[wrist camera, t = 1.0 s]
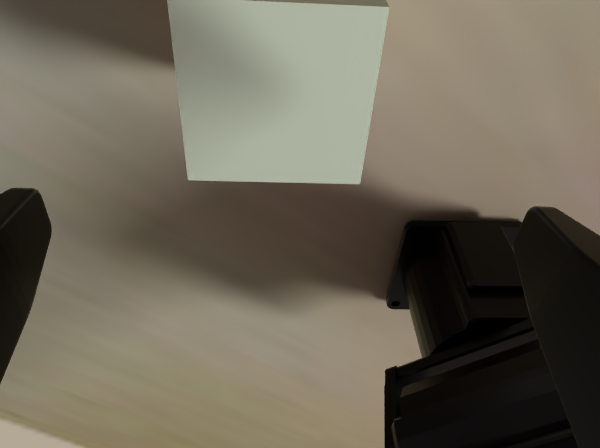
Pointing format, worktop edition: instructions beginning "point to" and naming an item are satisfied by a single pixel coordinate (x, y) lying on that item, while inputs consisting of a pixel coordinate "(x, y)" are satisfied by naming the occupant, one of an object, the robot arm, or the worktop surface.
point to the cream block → (276, 87)
